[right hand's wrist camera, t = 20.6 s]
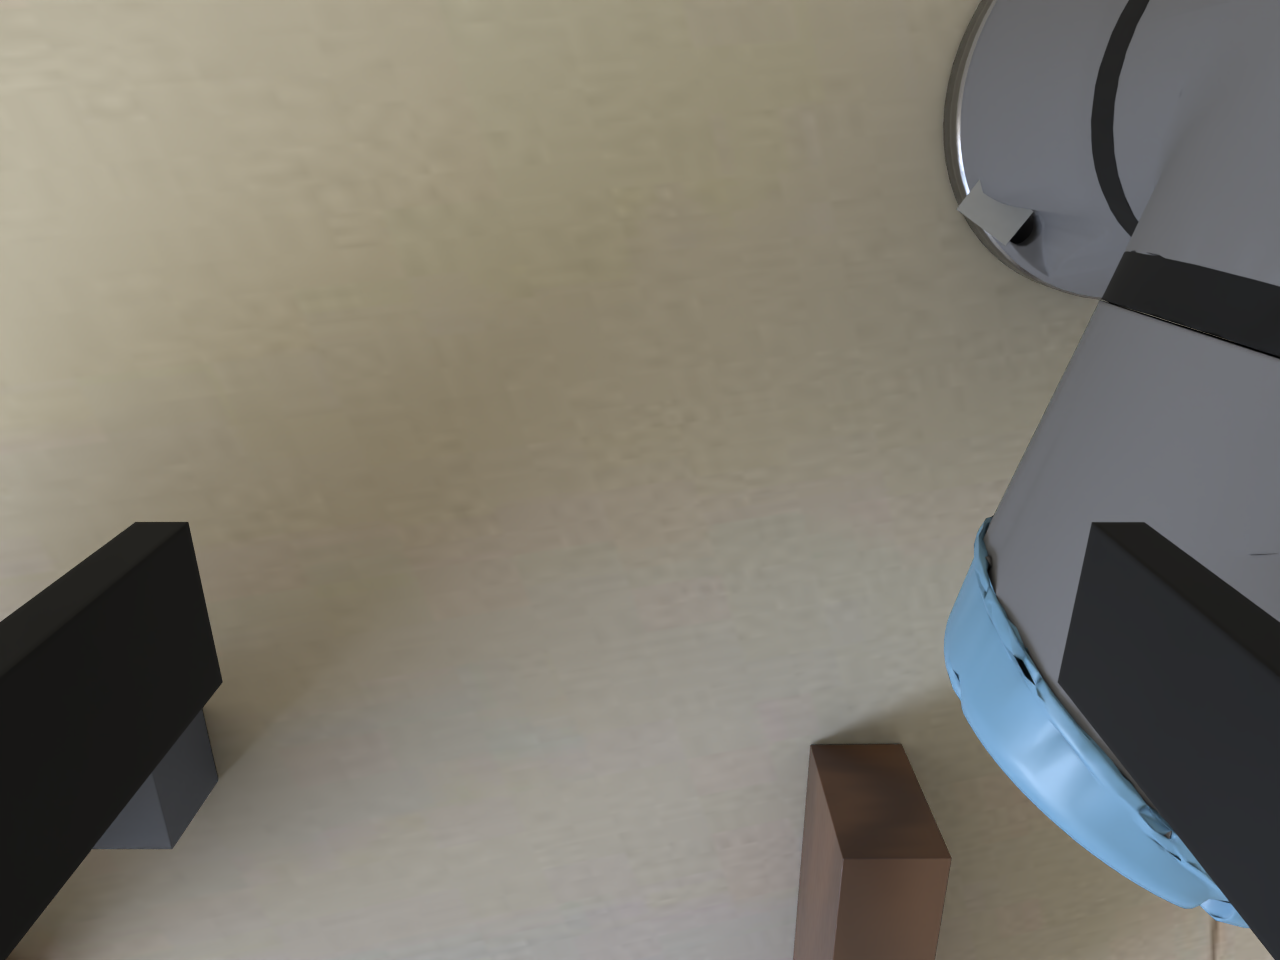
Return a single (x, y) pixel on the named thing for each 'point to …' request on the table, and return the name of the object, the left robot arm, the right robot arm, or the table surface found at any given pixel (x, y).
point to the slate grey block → (167, 795)
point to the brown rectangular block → (868, 859)
